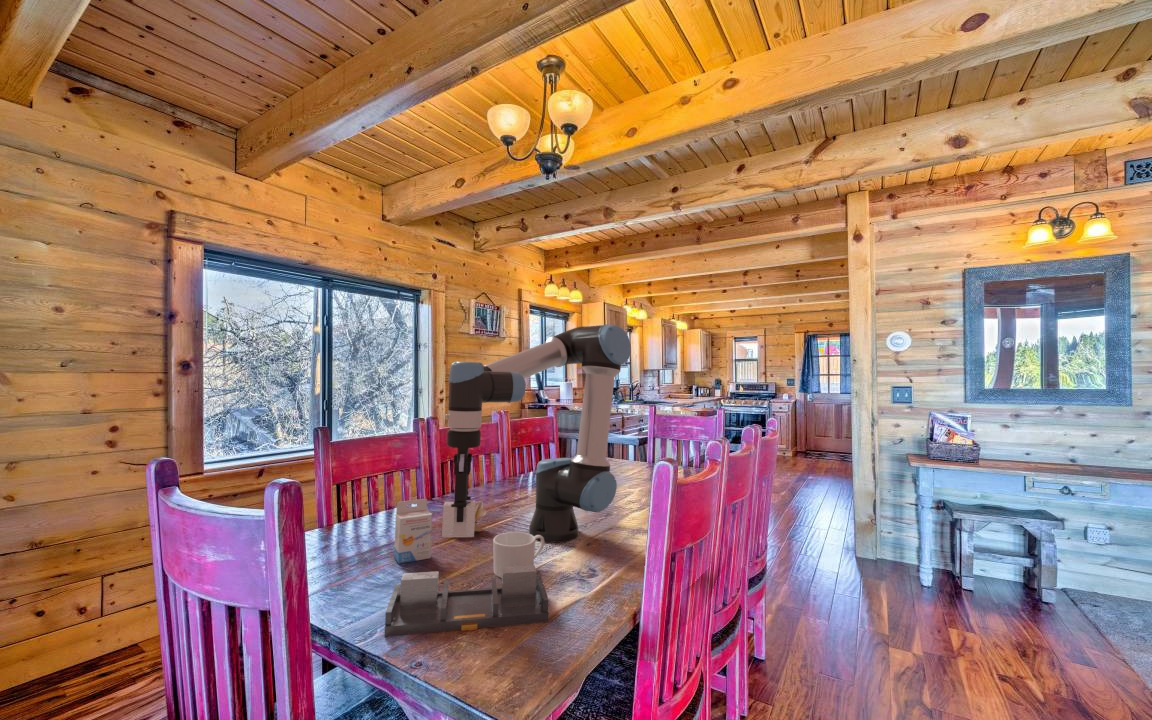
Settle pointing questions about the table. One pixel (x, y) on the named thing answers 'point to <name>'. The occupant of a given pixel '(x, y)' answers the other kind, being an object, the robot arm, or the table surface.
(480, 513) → the decorative flower
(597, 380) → the robot arm
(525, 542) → the mug
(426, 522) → the ink box
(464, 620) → the rack
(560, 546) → the table surface
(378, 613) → the table surface
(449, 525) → the panel
